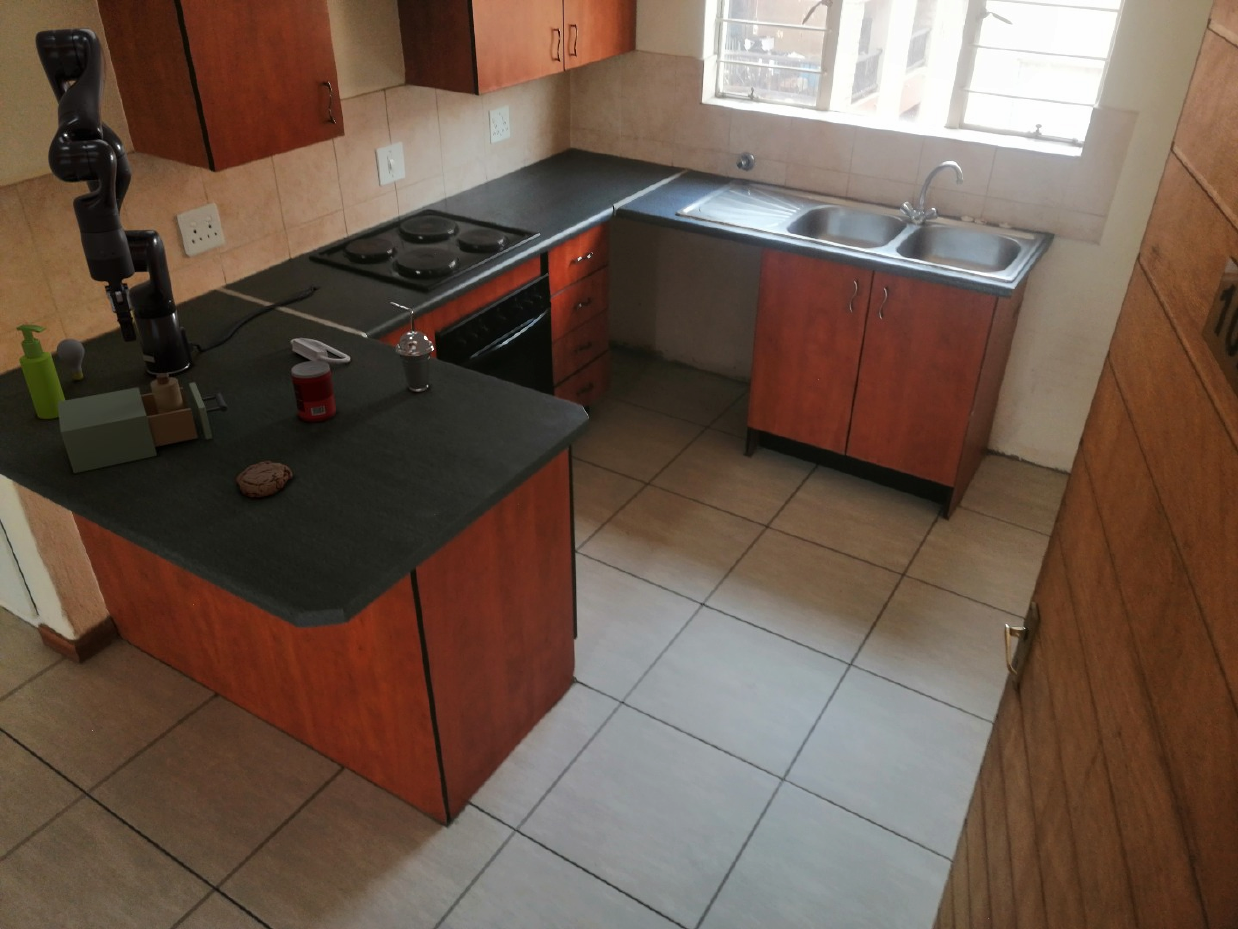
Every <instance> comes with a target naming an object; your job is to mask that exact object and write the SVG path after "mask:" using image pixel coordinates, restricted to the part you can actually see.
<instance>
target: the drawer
mask: <svg viewBox="0 0 1238 929" xmlns="http://www.w3.org/2000/svg"><path fill="white" fill-rule="evenodd" d="M188 385H189V390H190V394H191V398H192V402H193V407H194V411H195V415H196V417H197V420H198V422H199V425H200V427H201V430H202V433H203V435H204V438H205V440H210V439H213V434H212V430H211V426H210V422H209V416H208V414H209V413H214V412H223V413H225V412H226V411H227V410H228V406H227V404H226V402H225V400H224V397H223V395H222V394H221V393H220V392H216V393H215V394H214V395H211V396H206V397H202V396H201V393H200V391H199V389H198V387H197V384H196V382H190V383H188ZM179 388H180V393H181V397H182V401H183V405H184V409H182V410H177V411H172V412H167V413H162V414H158V411H157V408H156V404H155V400H154V396H153V392H149V393H145V394H144V393H143V394H140V395H141V398H142V402H143V405H144V409H145V412H146V416H147V419H148V423H149V427H150V431H151V434H152V438H153V442H154V446H155V448H156V447H160V446H166V445H171V444H175V443H181V442H185V441H189V440H196V439H199V436H198V433H197V429H196V424H195V420H194V416H193V411H192V409H191V407H188V403H187V399H186V394H185V390H184V388H183V387H179ZM213 400H215V402H216V403H217V405H218V406H216V407H211V408H206V405H205V403H204V402H208V401H213Z"/></svg>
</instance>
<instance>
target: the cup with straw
mask: <svg viewBox="0 0 1238 929" xmlns="http://www.w3.org/2000/svg"><path fill="white" fill-rule="evenodd" d="M389 305H390V306H392V307H395V308H398V309H401V310H404V311H407V312H409V316H410V318H409V319H410V327H411V330H408V331H406V332H405V333H403V334H402V335H401V336H400V338H399V339H398V343H397V344H396V345H395V353H396V354H398V355H399V358H400V362H402V366H403V371H404V376H405V380H406V384H407V386H408V390H409V391H410V392H413V393H423V392H426V391H428V390H429V388H430V386H429V384H430V360H431V354H432V353H431V352H432V351H433V350H434V348H435V346H434V344H433V342H432V341H430V340H429V338H428V336H427V335H426V334H425V333H424V332H421V331H420V330H416V329H415V328H416V327H415V318H414V311H413V309H412V308H410V307H407V306H404V305H401V304H399V303H397V302H396V303H395V302H393V301H390V303H389Z"/></svg>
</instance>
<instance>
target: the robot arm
mask: <svg viewBox="0 0 1238 929" xmlns="http://www.w3.org/2000/svg"><path fill="white" fill-rule="evenodd" d="M34 41H35V47H36V48H35V49H36V52H37V56H38V58H39V61H40V63H41V66H42V69H43V71H44V74H45V76H46V79H47V81H48V83H49V85H50V88H51V90H52V92H53V95H54V96H55V99H56V102H57V104H58V105H57V126H58V128H57V130H56V132H55V134H54V137H53V138H52V140H51V142H50V145H49V148H48V153H47V160H48V162H47V163H48V166H49V169H50V171H51V173H52V175H54V176H55V177H56V178H57V179H58V180H60V181H61V182H64V183H70V184H73V183H75V184H76V183H86V185H87V188H88V190H89V192H87V193H84V194H81V195H78V196H76V197H75V198H74V199H73V201H72V207H73V211H74V216H75V219H76V222H77V226H78V229H79V234H80V241H81V246H82V249H83V250H82V251H83V254H84V257H85V260H86V264H87V268H88V272H89V275H90V278H91V279H92V280H93V281H96V282H98V283H99V282H101V283H103V282H106V283H107V284H105V285H104V289H105V290H104V291H105V294H106V297H107V299H108V300H109V303H110V306H111V312H112V313H114V314H115V315H116V318H117V319H116V322H117V323H118V325H119V327H120V331H121V335H122V338H123V341H124V342H125V343H130V342H134V341H137V336H138V340H139V344H140V347H141V353H142V359H143V361H144V363H145V369H146V373H147V374H148V375H150V376H153V377H156V376H157V375H158V374H161V373H167V374H168V375H169V377H171V376H175V375H178V374H182V373H183V372H185V371H187V370H188V369H189V368H190V367H192V366H194V361H193V357H192V352H195V348H194V347H196V349H197V350H198V351H199V352H205V351H208V350H211V349H213V348H215V347H217V346H219V345H221V344H222V343H224V342H225V341H227V340H228V339H229V338H230V337H231V336H232V334H233V333H234V332H235V331H236V330H237V329H238V328H240V327H241V326H242V325H243V324H244V323H245V322H247V321H249V320H250V319H252V318H254V317H255V316H257V315H260V314H262V313H264V312H267V311H269V310H271V309H274V308H277V307H279V306H282V305H286V304H288V303H291V302H295V301H298V300H301V299H304V298H307V297H308V296H309V295H310V294H312V291H311V292H309V291H310V290H311V289H312V290H318V289H319V288H318V286H317V285H316V284H311V285H310V286H309V287H308V290H307V291H306V292H304V293H302V294H300V295H298V296H299V297H298V296H293V297H289V298H286V299H284V300H281V301H278V302H275V303H272V304H269V305H267V306H264V307H261V308H259V309H258V310H256V311H253V312H251V313H249V314H248V315H246V316H245V317H243V318H241V319H240V320H239V321H238V322H236V324H234V325H233V326H232V327H231V328H230V329H229V331H228V332H227V333H226V334H225V335H224V336H222V337H221V338H219V339H218V340H216V341H214V342H213V343H210V344H209V345H206V346H202V345H201V344H200V343H199V342H198V341H189V340H188V336H187V332H186V328H185V327H184V326H181V323H180V319H179V315H178V311H177V307H176V306H177V305H176V303H175V298H174V294H173V289H172V288H173V287H172V280H171V276H170V271H169V265H168V260H167V259H168V258H167V253H166V249H165V245H164V244H165V243H164V240H163V239H162V236H161V234H160V233H159V232H158V231H157V230H154V229H124V228H123V225H122V221H121V209H122V205H123V203H124V199H125V197H126V195H127V192H128V190H129V187H130V185H131V180H132V174H133V173H132V167H131V164H130V161H129V158H128V154H127V152H126V148H125V145H124V143H123V141H122V140H121V138H120V137H119V136H118V135H117V133H116V132H115V131H114V130H113V129H112V128H111V127H109V125H107V124H106V123H105V122H104V121H103V120H102V102H103V97H104V91H105V87H106V86H105V85H106V78H107V60H106V55H105V52H104V49H103V46H102V43H101V41H100V39H99V37H98V35H97V34H96V32H95V31H93V30H92V29H89V28H79V27H78V28H77V27H75V28H63V29H62V28H59V29H49V30H40V31H38V32H37V33H36V34H35V40H34ZM70 82H73V83H72V84H71V83H70ZM135 273H148V274H149V278H148V279H147V280H145V281H143V282H140V283H138V284H135V285H133V286H132V287H130V288H129V285H128V283H127V282H123V280H125V279H129V278H132V277H133V276H134V275H135ZM314 286H315V287H314ZM307 292H309V293H307ZM306 293H307V294H306ZM301 295H303V296H301ZM296 297H297V298H296ZM283 301H284V302H283ZM133 322H134V323H133ZM134 325H135V327H134ZM135 330H136V331H135ZM136 333H137V334H136Z"/></svg>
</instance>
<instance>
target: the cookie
mask: <svg viewBox="0 0 1238 929" xmlns="http://www.w3.org/2000/svg"><path fill="white" fill-rule="evenodd" d="M293 476H294V475H293V472H292V470H291V468H290V467H288V465H286V464H283V463H281V462H273V461H271V460H264V461H260V462H257V463H255V464H252V465H249V466H248V467H246V468H245V469H244V470H243V471H242V472H240V474H238V476H236V482H237V484H238V486H239V488H240V489H239V490H240V491H241V493H242V494H243V495H244V496H246V497H247V496H248V497H249V498H262V497H263V498H264V497H266V496H271V495H274V494H276V493H277V492H278V491H280V490H281V489H283V488H284V487H285V485H286V483H287V482H288V480H291V479H292V478H293Z"/></svg>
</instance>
